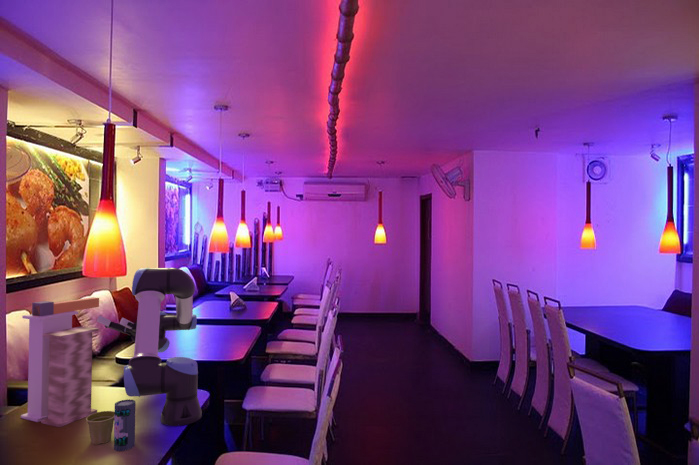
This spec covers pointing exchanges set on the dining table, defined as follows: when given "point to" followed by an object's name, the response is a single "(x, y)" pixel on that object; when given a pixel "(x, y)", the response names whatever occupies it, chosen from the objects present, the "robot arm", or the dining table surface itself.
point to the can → (124, 425)
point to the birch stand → (69, 375)
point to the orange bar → (63, 306)
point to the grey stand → (41, 361)
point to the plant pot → (100, 426)
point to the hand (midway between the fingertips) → (109, 319)
